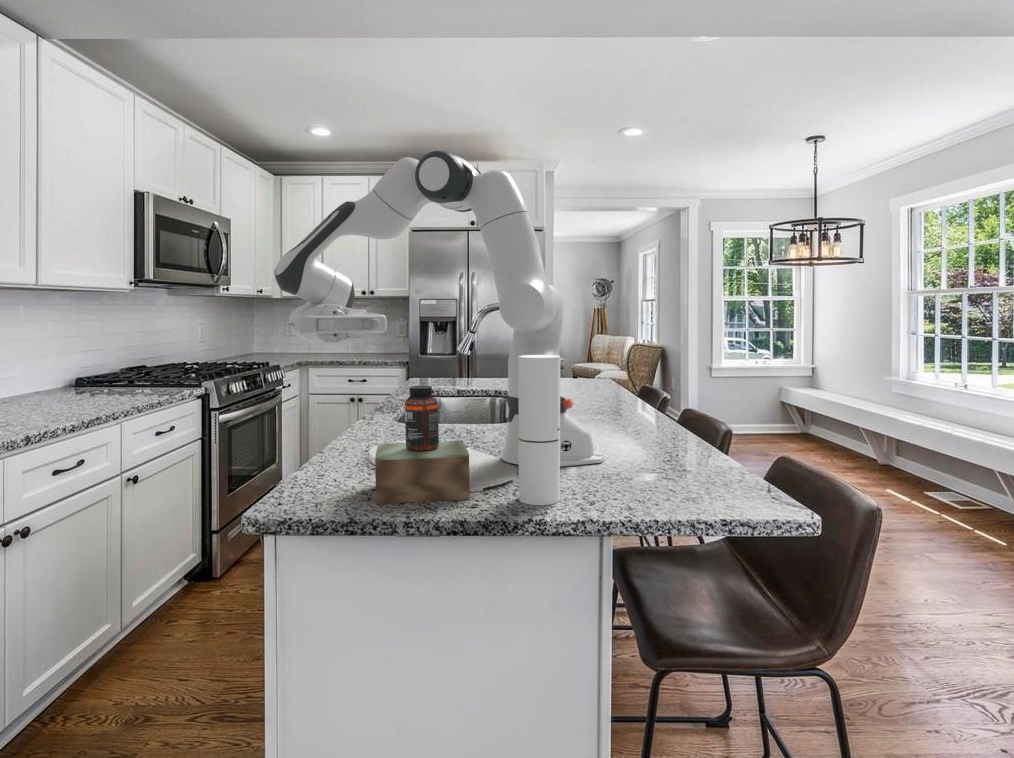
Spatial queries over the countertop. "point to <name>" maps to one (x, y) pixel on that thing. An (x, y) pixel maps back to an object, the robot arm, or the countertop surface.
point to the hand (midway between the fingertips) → (356, 324)
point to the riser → (421, 473)
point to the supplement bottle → (421, 419)
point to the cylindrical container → (539, 429)
